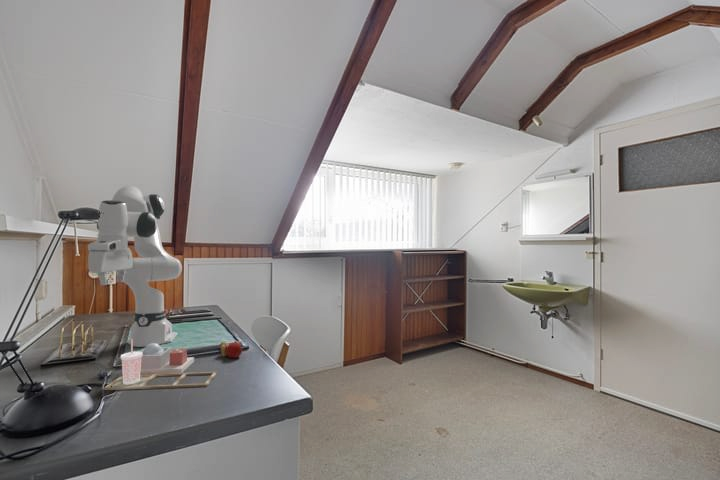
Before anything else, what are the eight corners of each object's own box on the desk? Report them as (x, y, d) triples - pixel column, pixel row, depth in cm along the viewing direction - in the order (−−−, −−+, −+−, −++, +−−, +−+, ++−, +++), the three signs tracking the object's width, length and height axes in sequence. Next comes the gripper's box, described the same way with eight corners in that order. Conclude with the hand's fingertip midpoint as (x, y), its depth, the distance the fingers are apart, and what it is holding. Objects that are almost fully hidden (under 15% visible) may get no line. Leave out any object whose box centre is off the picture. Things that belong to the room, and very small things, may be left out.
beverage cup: (117, 386, 108) (118, 342, 108) (122, 379, 114) (123, 337, 114) (140, 383, 110) (140, 340, 110) (144, 376, 116) (144, 335, 116)
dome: (147, 358, 128) (147, 340, 128) (166, 358, 129) (167, 340, 129) (137, 365, 121) (137, 346, 121) (158, 365, 122) (158, 345, 122)
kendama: (212, 353, 146) (225, 359, 132) (214, 338, 147) (227, 342, 133) (230, 353, 150) (244, 358, 136) (232, 338, 152) (247, 342, 138)
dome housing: (144, 362, 130) (145, 346, 130) (194, 361, 132) (194, 345, 132) (127, 374, 118) (127, 357, 118) (181, 372, 120) (181, 355, 120)
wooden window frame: (123, 376, 117) (123, 374, 117) (217, 373, 120) (217, 371, 120) (102, 390, 106) (102, 388, 106) (206, 386, 109) (206, 384, 109)
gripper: (120, 244, 132) (119, 280, 132) (84, 245, 112) (83, 287, 112) (137, 244, 133) (137, 280, 133) (104, 245, 113) (104, 287, 113)
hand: (112, 283), depth 122 cm, fingers open, 8 cm apart
